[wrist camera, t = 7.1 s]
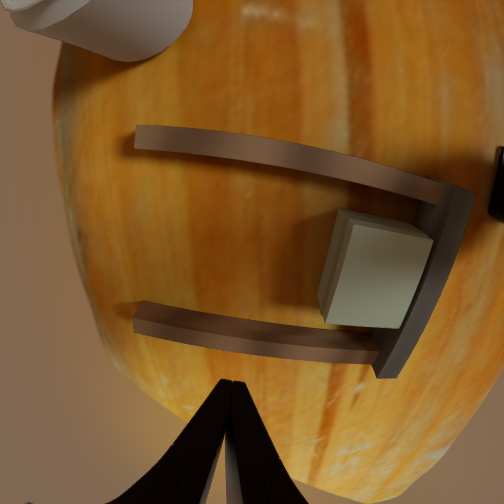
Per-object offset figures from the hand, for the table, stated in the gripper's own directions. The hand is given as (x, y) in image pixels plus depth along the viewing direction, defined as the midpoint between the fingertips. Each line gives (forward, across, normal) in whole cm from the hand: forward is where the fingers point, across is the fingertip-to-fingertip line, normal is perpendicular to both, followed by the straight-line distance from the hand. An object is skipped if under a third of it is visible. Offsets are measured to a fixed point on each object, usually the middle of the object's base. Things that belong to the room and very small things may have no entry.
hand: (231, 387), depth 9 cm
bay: (+13, -3, 0) cm, 13 cm away
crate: (+13, -9, -1) cm, 16 cm away
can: (+13, +10, -16) cm, 23 cm away
